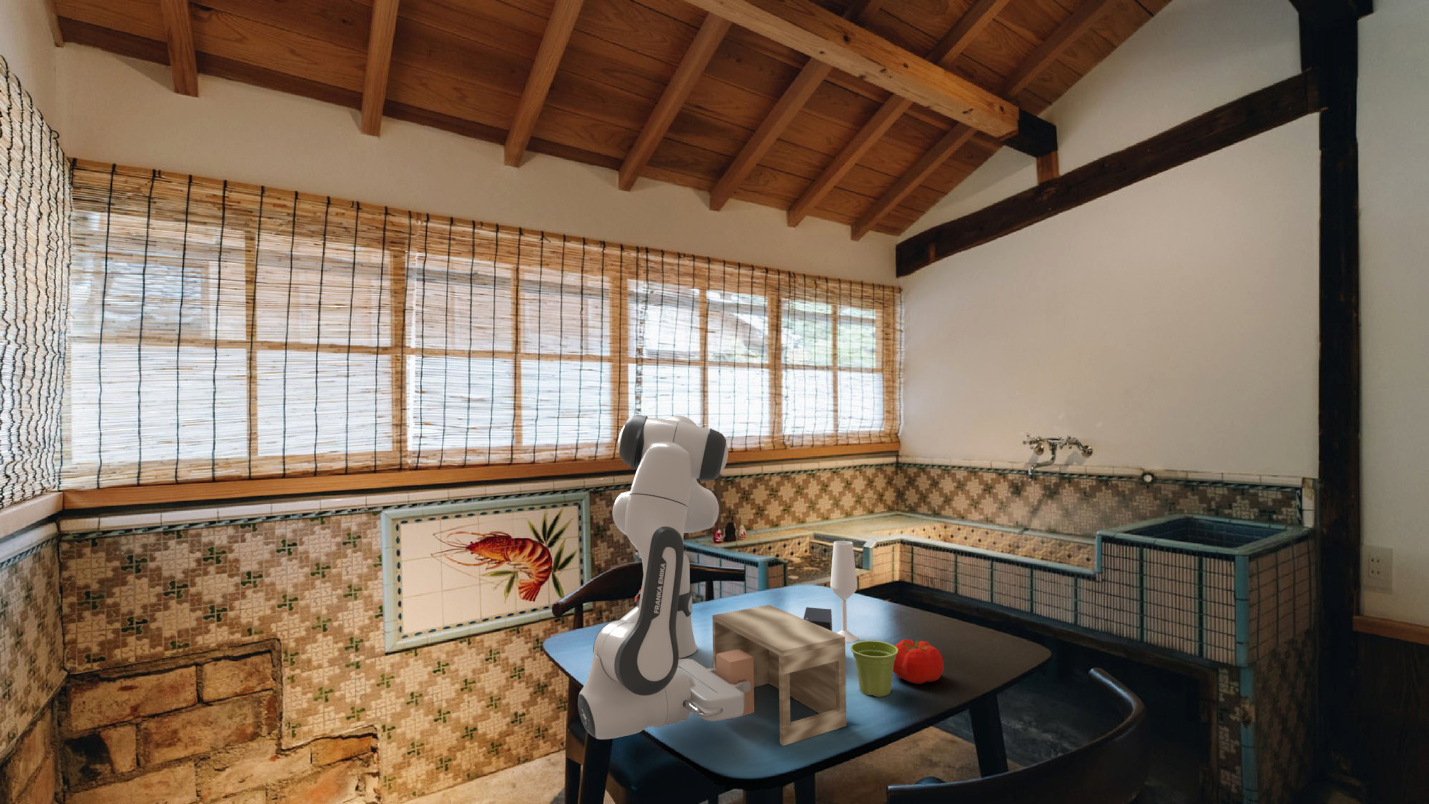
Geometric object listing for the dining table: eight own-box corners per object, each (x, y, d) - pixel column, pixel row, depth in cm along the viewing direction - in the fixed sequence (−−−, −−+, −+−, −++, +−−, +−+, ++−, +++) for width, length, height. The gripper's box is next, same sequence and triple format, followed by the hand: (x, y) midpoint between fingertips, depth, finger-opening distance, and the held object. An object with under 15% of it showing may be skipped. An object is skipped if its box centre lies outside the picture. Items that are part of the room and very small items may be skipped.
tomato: (954, 685, 136) (953, 649, 137) (908, 692, 133) (907, 654, 133) (924, 666, 147) (923, 633, 147) (880, 672, 143) (880, 638, 144)
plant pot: (870, 704, 128) (869, 659, 128) (842, 686, 136) (841, 644, 136) (908, 696, 131) (907, 652, 132) (879, 679, 140) (878, 638, 140)
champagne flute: (857, 634, 169) (856, 540, 170) (858, 642, 162) (857, 545, 163) (831, 632, 170) (829, 539, 171) (831, 641, 164) (829, 544, 164)
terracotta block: (730, 718, 117) (730, 662, 118) (716, 708, 122) (716, 653, 122) (754, 712, 120) (753, 657, 120) (739, 702, 124) (738, 649, 125)
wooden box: (783, 745, 112) (782, 650, 112) (713, 695, 133) (712, 615, 133) (846, 725, 119) (845, 636, 119) (770, 680, 140) (769, 604, 140)
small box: (831, 668, 146) (831, 621, 146) (802, 667, 147) (801, 619, 148) (833, 652, 156) (832, 607, 157) (805, 650, 158) (804, 606, 158)
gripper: (700, 698, 106) (771, 680, 113) (647, 659, 123) (711, 646, 130) (700, 738, 105) (771, 717, 112) (648, 693, 123) (711, 678, 130)
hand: (738, 678), depth 122 cm, fingers closed on terracotta block, 5 cm apart
